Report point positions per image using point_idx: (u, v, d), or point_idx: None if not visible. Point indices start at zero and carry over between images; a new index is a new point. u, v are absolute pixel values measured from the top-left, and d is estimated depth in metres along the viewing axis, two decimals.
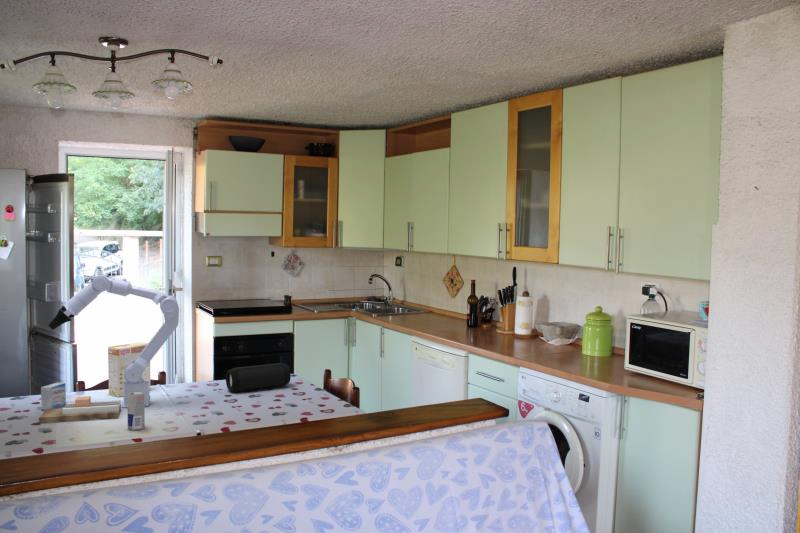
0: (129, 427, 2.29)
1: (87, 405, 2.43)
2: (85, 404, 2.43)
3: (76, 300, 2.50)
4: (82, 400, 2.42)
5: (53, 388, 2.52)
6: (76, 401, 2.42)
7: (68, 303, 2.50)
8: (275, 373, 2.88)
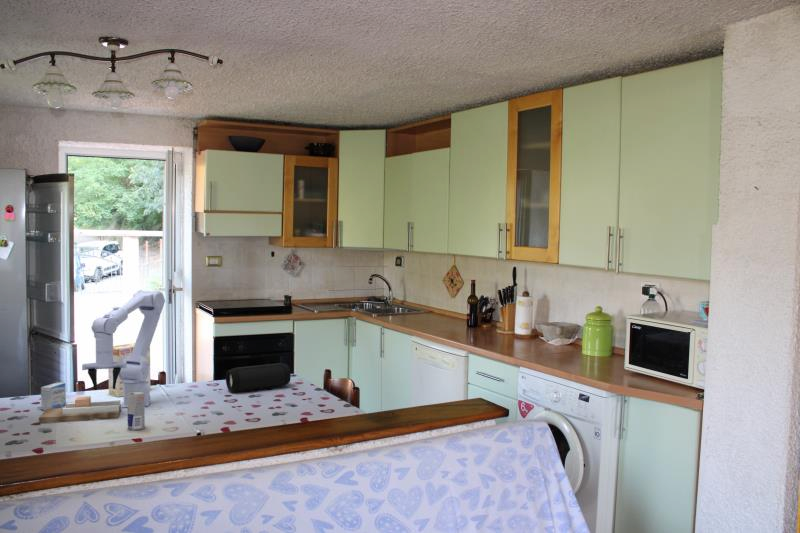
0: (129, 427, 2.29)
1: (87, 405, 2.43)
2: (85, 404, 2.43)
3: (112, 354, 2.45)
4: (82, 400, 2.42)
5: (53, 388, 2.52)
6: (76, 401, 2.42)
7: (109, 362, 2.44)
8: (275, 373, 2.88)
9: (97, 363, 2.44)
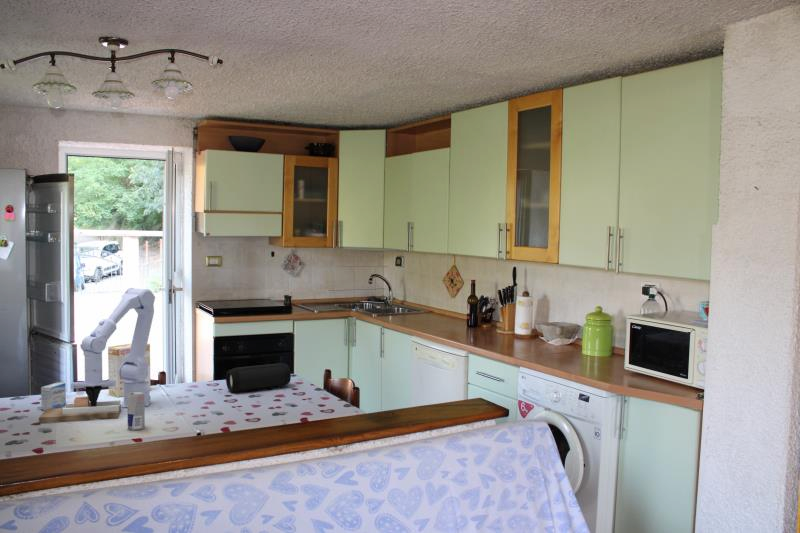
0: (129, 427, 2.29)
1: (86, 405, 2.43)
2: (84, 404, 2.43)
3: (101, 372, 2.45)
4: (81, 400, 2.42)
5: (53, 388, 2.52)
6: (75, 401, 2.42)
7: (98, 381, 2.44)
8: (275, 373, 2.88)
9: (86, 382, 2.43)
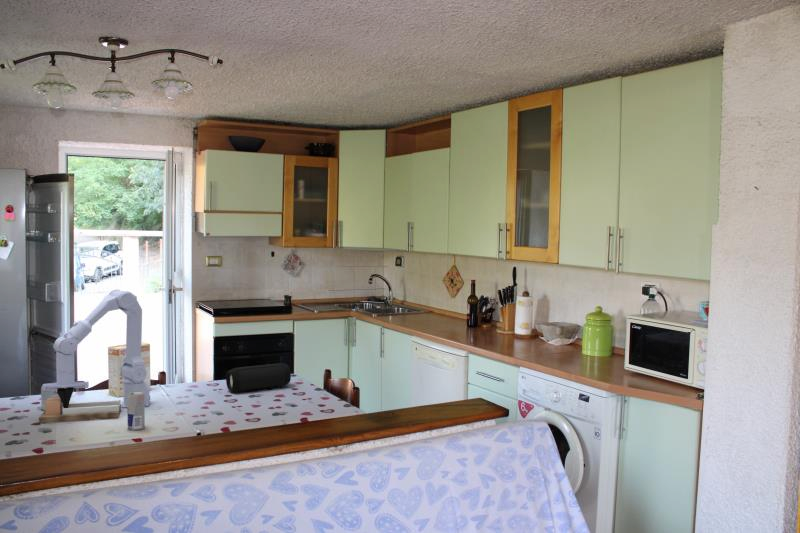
0: (129, 427, 2.29)
1: (58, 407, 2.40)
2: (56, 406, 2.40)
3: (73, 374, 2.42)
4: (53, 402, 2.40)
5: None
6: (47, 403, 2.39)
7: (70, 382, 2.41)
8: (275, 373, 2.88)
9: (58, 383, 2.40)
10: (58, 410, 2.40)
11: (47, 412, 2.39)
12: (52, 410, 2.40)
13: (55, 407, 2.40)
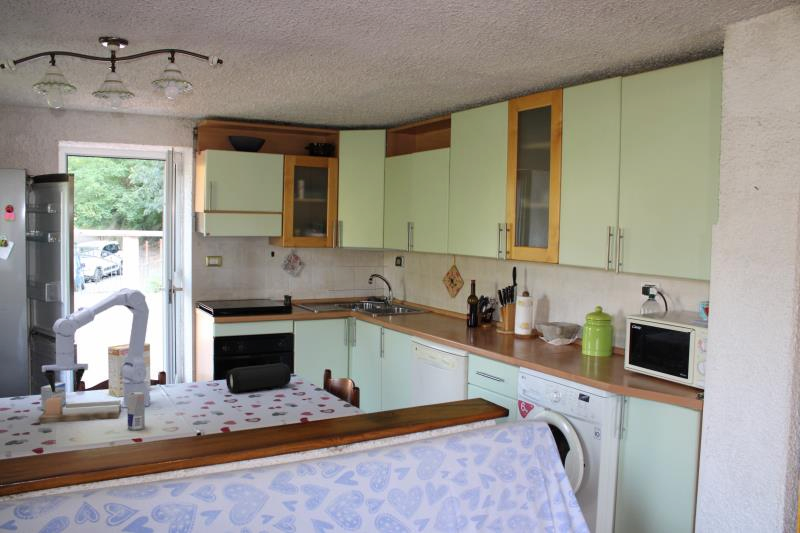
0: (129, 427, 2.29)
1: (58, 407, 2.40)
2: (56, 406, 2.40)
3: (72, 355, 2.42)
4: (53, 402, 2.40)
5: None
6: (47, 403, 2.39)
7: (70, 364, 2.41)
8: (275, 373, 2.88)
9: (57, 365, 2.40)
10: (58, 410, 2.40)
11: (47, 412, 2.39)
12: (52, 410, 2.40)
13: (55, 407, 2.40)
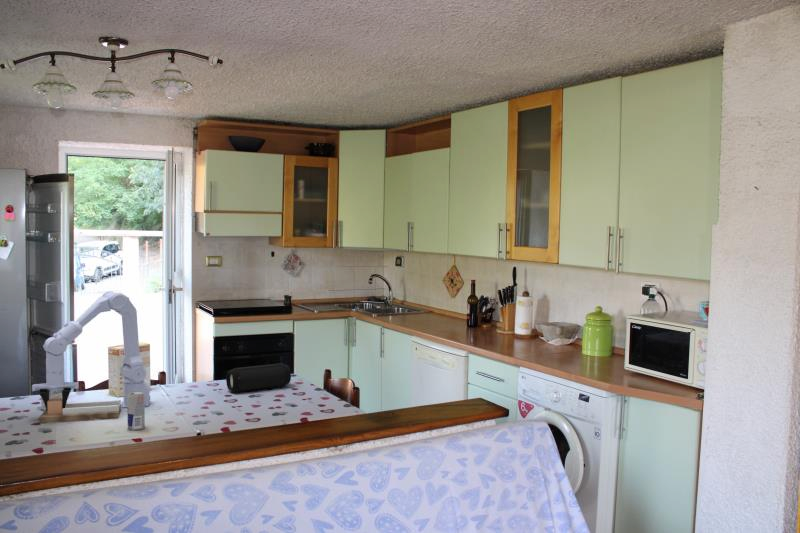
0: (129, 427, 2.29)
1: (60, 407, 2.40)
2: (58, 406, 2.40)
3: (62, 374, 2.41)
4: (55, 402, 2.40)
5: None
6: (48, 403, 2.39)
7: (60, 383, 2.40)
8: (276, 373, 2.88)
9: (47, 384, 2.39)
10: (60, 410, 2.40)
11: (49, 412, 2.39)
12: (54, 410, 2.40)
13: (57, 407, 2.40)
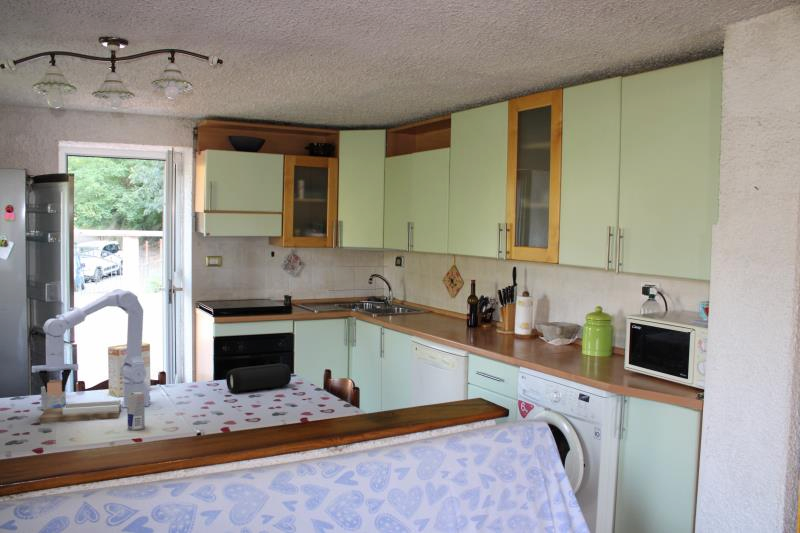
0: (129, 427, 2.29)
1: (59, 388, 2.40)
2: (57, 387, 2.40)
3: (62, 356, 2.41)
4: (54, 383, 2.39)
5: None
6: (48, 384, 2.39)
7: (60, 364, 2.40)
8: (276, 373, 2.88)
9: (47, 365, 2.39)
10: (59, 391, 2.40)
11: (49, 393, 2.39)
12: (53, 391, 2.39)
13: (56, 388, 2.40)
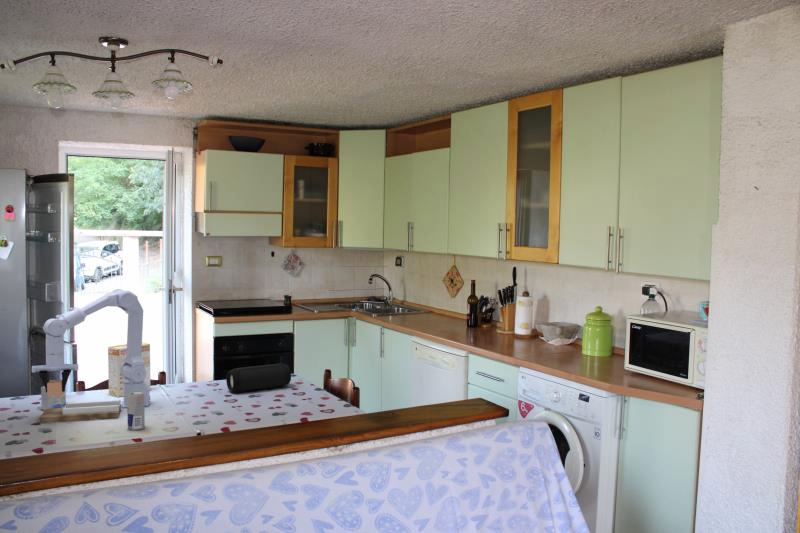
0: (129, 427, 2.29)
1: (59, 388, 2.40)
2: (57, 387, 2.40)
3: (62, 356, 2.41)
4: (54, 383, 2.39)
5: None
6: (48, 384, 2.39)
7: (60, 364, 2.40)
8: (276, 373, 2.88)
9: (47, 365, 2.39)
10: (59, 391, 2.40)
11: (49, 393, 2.39)
12: (53, 391, 2.39)
13: (56, 388, 2.40)
